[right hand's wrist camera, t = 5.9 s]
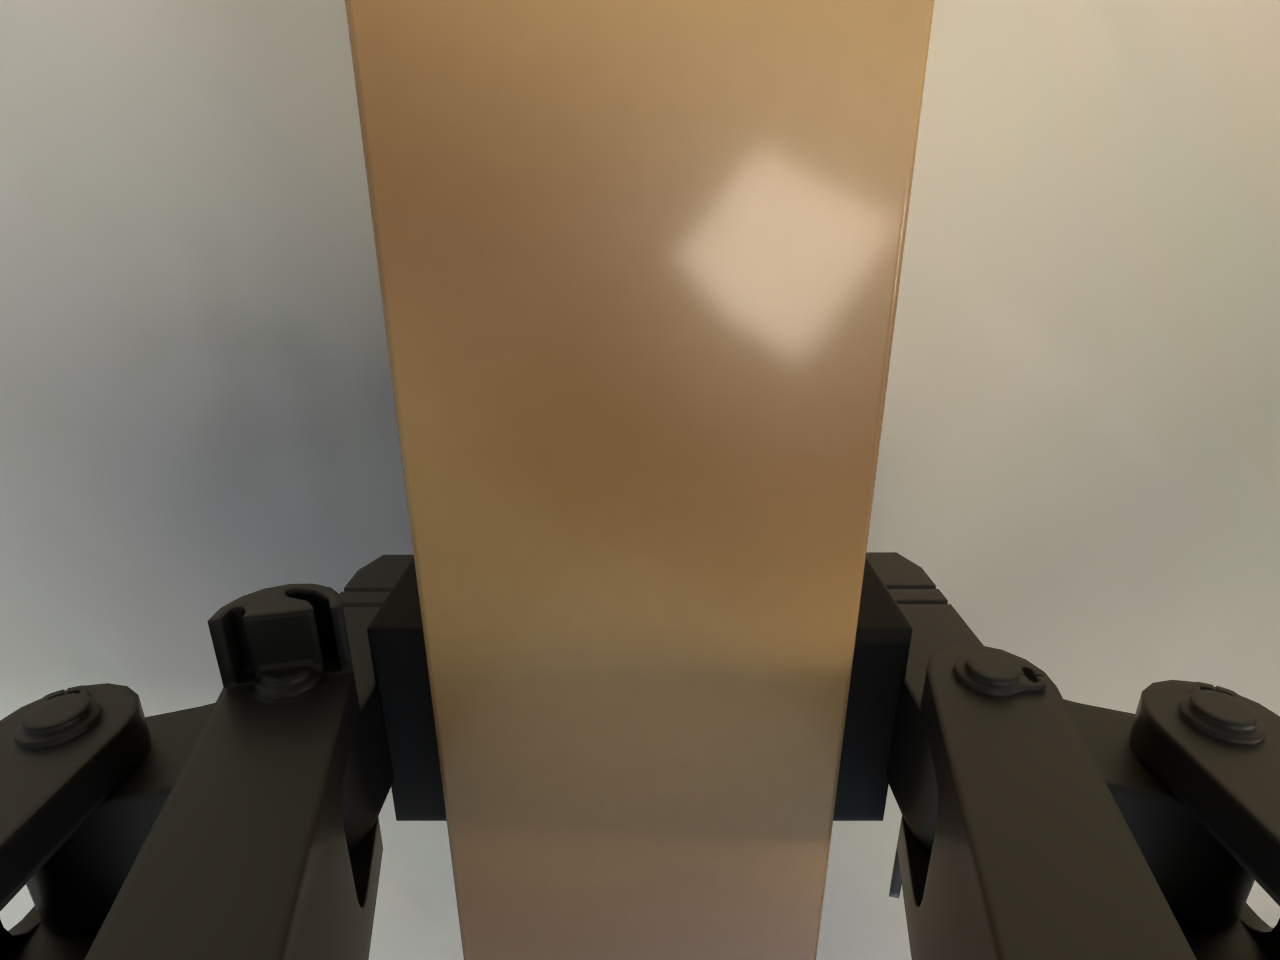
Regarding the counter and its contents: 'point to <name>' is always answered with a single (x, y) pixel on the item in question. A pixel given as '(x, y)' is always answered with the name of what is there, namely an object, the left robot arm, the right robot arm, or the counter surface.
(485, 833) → the post
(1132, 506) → the counter surface
